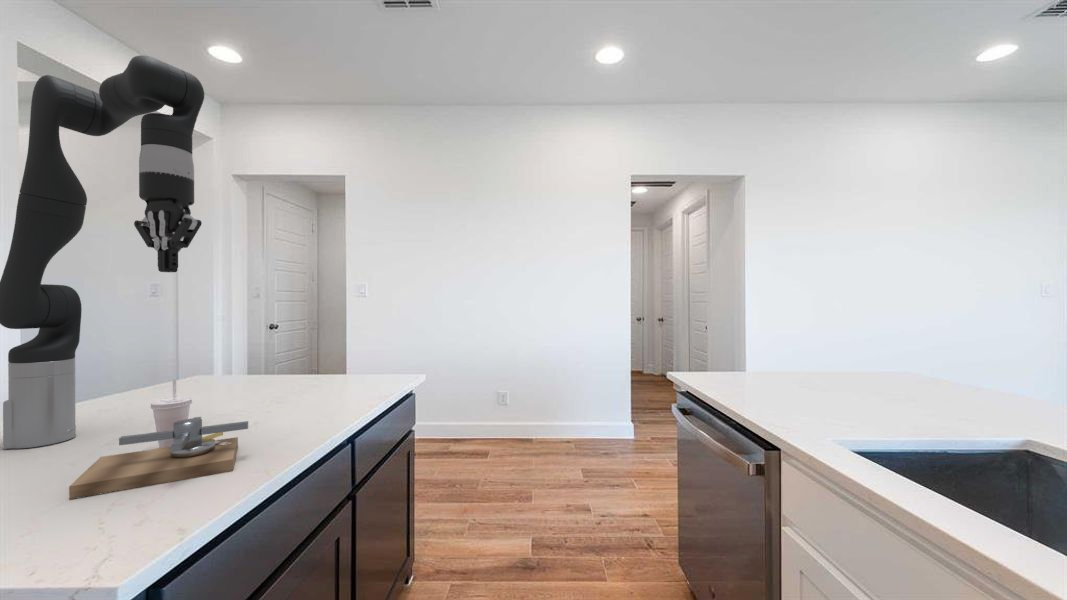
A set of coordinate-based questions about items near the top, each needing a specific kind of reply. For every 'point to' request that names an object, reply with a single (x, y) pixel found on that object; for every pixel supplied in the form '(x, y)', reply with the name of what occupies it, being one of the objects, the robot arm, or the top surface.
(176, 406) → the smoothie
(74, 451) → the top surface
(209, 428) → the capstan
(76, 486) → the board
